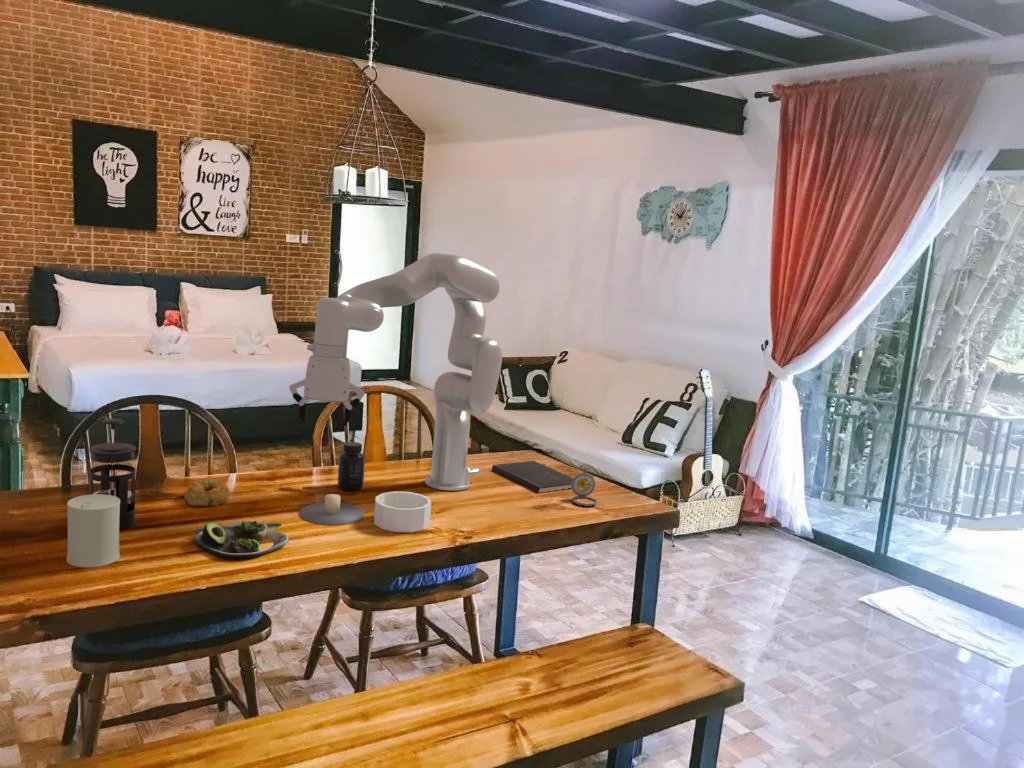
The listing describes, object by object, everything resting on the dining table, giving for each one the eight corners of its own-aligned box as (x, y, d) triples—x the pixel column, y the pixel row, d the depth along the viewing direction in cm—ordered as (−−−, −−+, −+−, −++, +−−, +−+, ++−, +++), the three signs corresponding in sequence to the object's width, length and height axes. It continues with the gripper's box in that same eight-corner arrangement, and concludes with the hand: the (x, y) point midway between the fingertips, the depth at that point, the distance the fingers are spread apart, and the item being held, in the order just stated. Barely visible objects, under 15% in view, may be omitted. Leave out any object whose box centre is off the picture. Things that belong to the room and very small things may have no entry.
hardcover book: (533, 467, 254) (533, 460, 254) (581, 489, 236) (582, 482, 236) (491, 472, 245) (492, 464, 245) (538, 495, 227) (538, 487, 226)
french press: (80, 519, 176) (80, 416, 172) (125, 512, 183) (127, 412, 179) (99, 536, 168) (100, 428, 164) (145, 528, 175) (147, 424, 171)
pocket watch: (584, 508, 217) (588, 472, 216) (562, 499, 223) (566, 464, 222) (605, 504, 223) (609, 469, 221) (583, 495, 229) (587, 461, 227)
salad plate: (257, 521, 186) (258, 502, 186) (309, 543, 176) (310, 523, 176) (180, 541, 171) (181, 520, 170) (233, 567, 161) (233, 545, 160)
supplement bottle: (366, 485, 219) (369, 442, 217) (359, 493, 212) (362, 448, 210) (341, 482, 219) (344, 439, 217) (333, 489, 213) (336, 445, 210)
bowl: (409, 510, 203) (411, 488, 202) (439, 526, 193) (441, 504, 192) (363, 517, 194) (365, 495, 193) (393, 535, 185) (394, 512, 184)
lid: (344, 502, 205) (345, 483, 204) (375, 520, 194) (376, 501, 193) (288, 510, 195) (289, 491, 195) (318, 530, 184) (319, 510, 183)
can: (57, 566, 153) (57, 505, 151) (78, 547, 162) (79, 490, 160) (109, 569, 154) (109, 508, 152) (127, 550, 163) (127, 493, 161)
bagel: (174, 504, 191) (174, 484, 191) (202, 491, 202) (203, 473, 201) (211, 511, 189) (212, 492, 188) (237, 499, 200) (239, 480, 199)
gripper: (289, 350, 184) (284, 423, 186) (367, 357, 186) (361, 430, 189) (294, 346, 191) (289, 417, 194) (368, 353, 193) (362, 423, 196)
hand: (324, 423), depth 191 cm, fingers open, 9 cm apart
